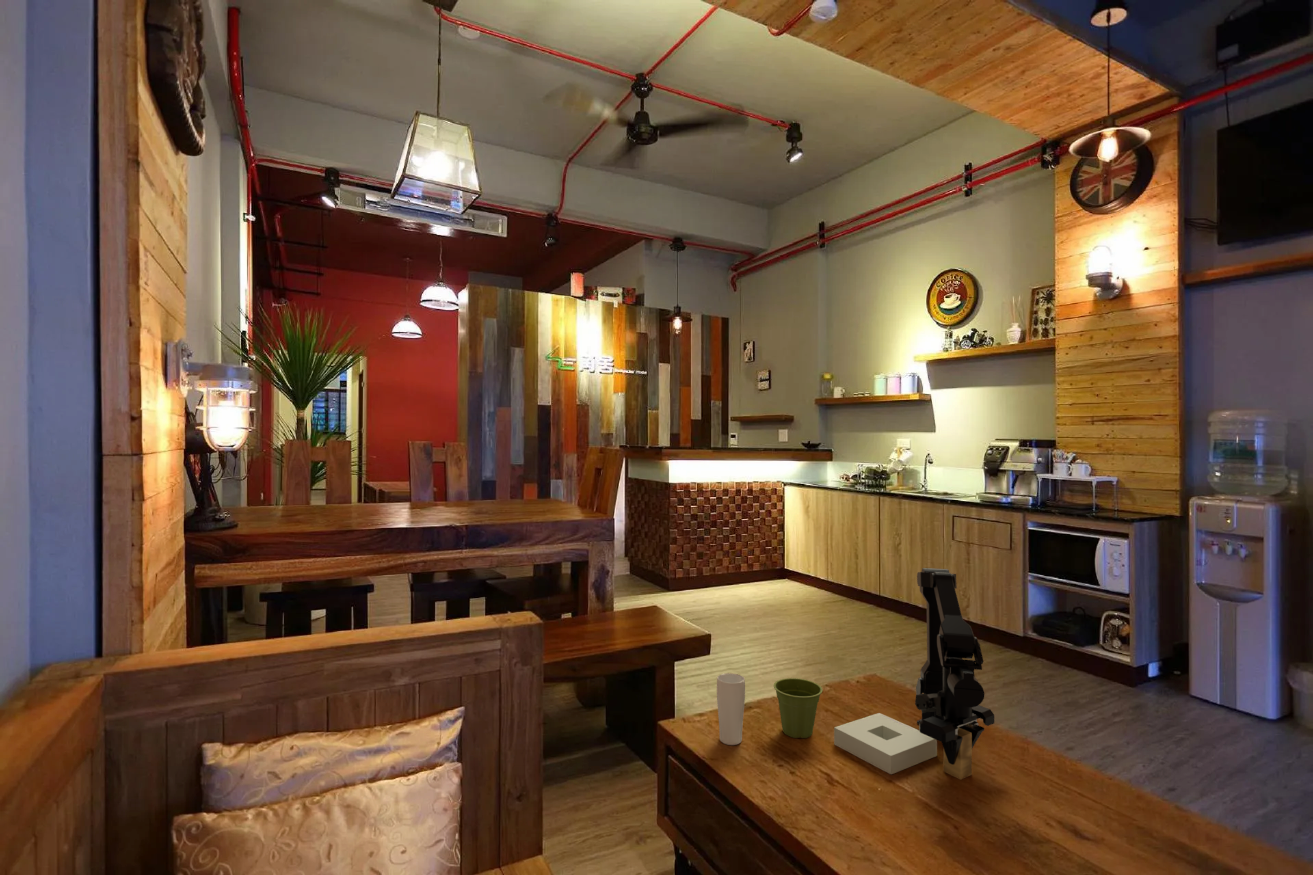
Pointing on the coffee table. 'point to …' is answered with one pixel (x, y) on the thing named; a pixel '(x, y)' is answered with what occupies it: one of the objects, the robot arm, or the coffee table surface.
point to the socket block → (885, 742)
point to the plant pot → (797, 705)
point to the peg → (961, 757)
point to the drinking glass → (730, 707)
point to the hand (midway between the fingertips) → (957, 761)
